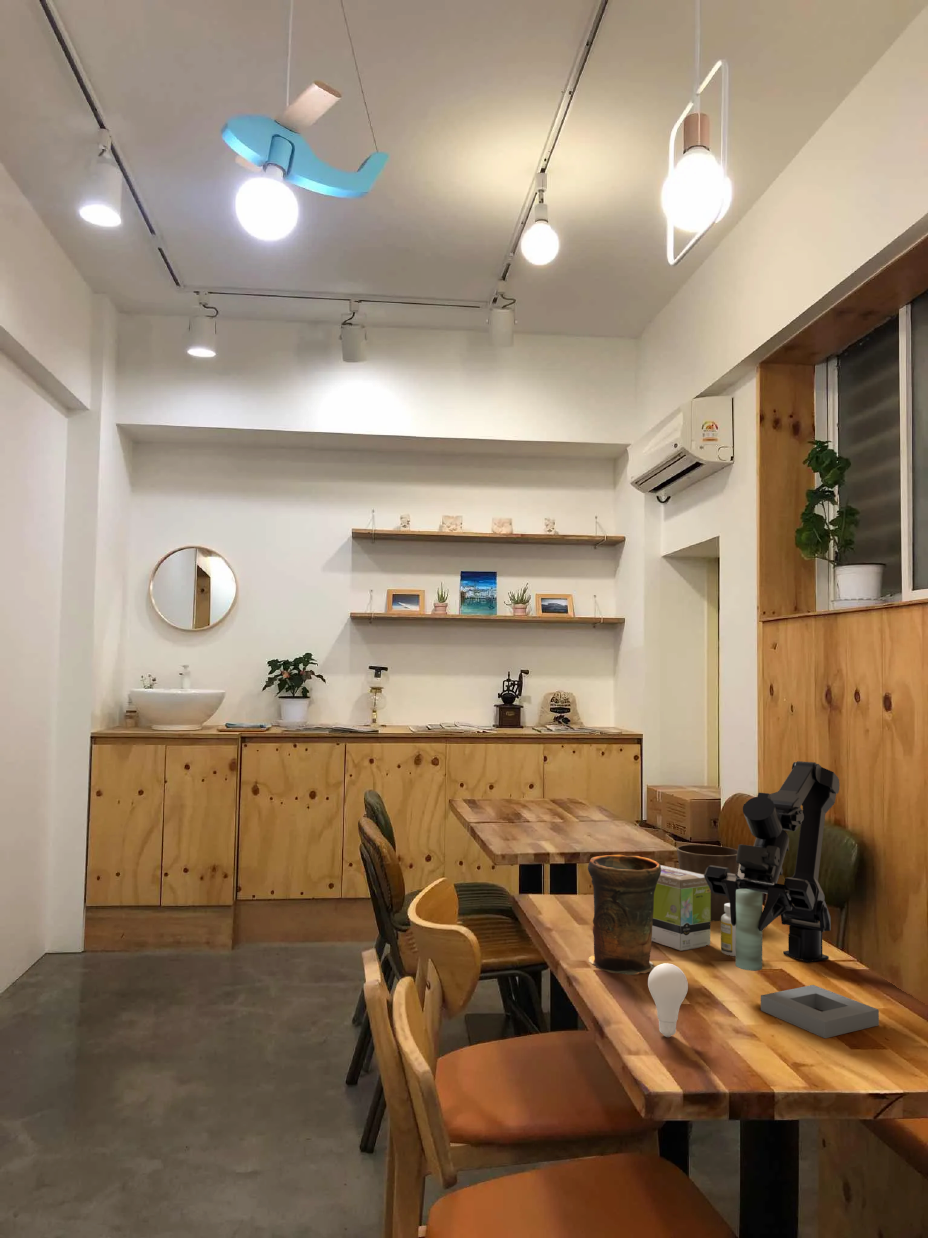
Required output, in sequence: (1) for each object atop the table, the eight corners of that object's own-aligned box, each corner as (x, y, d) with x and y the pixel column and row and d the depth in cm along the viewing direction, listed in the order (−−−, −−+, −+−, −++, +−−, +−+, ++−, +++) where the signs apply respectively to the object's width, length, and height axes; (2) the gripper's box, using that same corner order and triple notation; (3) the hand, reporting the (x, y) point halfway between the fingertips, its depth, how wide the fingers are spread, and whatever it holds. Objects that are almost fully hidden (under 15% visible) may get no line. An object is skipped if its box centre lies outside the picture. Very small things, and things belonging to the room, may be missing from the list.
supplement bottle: (748, 951, 182) (748, 903, 183) (747, 958, 177) (747, 909, 178) (721, 948, 184) (721, 901, 185) (720, 955, 179) (720, 906, 180)
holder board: (813, 999, 154) (813, 985, 154) (878, 1025, 143) (878, 1009, 143) (760, 1010, 148) (760, 995, 148) (824, 1038, 137) (824, 1022, 137)
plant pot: (663, 915, 210) (664, 848, 211) (697, 906, 220) (698, 842, 221) (719, 929, 199) (719, 858, 200) (752, 919, 209) (752, 851, 210)
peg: (748, 961, 157) (748, 888, 158) (767, 969, 153) (767, 893, 154) (730, 964, 155) (730, 890, 156) (749, 972, 151) (749, 895, 152)
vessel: (660, 955, 177) (661, 856, 179) (660, 979, 164) (661, 871, 165) (590, 949, 181) (590, 851, 182) (583, 972, 167) (584, 866, 168)
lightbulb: (642, 1029, 138) (643, 958, 139) (680, 1029, 139) (680, 958, 140) (654, 1045, 132) (654, 970, 133) (693, 1044, 133) (693, 970, 134)
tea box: (712, 946, 186) (712, 875, 187) (680, 952, 180) (680, 880, 181) (659, 928, 198) (660, 862, 199) (627, 934, 192) (628, 866, 194)
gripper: (708, 821, 165) (682, 891, 155) (809, 834, 153) (788, 909, 144) (724, 858, 170) (700, 927, 161) (823, 873, 159) (804, 948, 149)
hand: (746, 927), depth 153 cm, fingers closed on peg, 4 cm apart
